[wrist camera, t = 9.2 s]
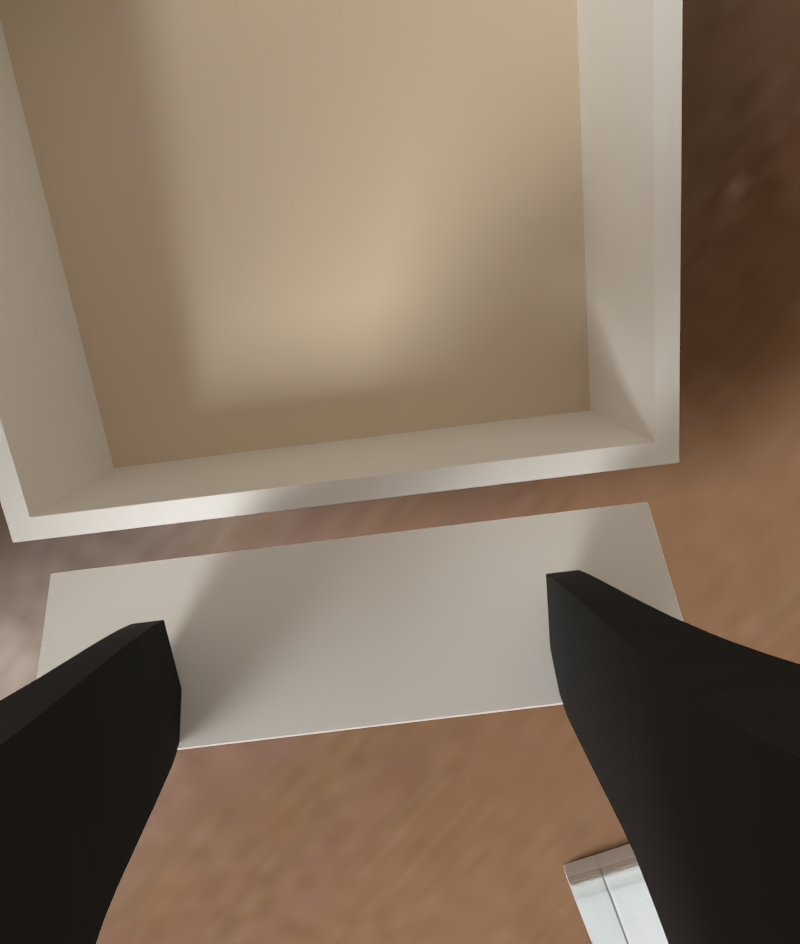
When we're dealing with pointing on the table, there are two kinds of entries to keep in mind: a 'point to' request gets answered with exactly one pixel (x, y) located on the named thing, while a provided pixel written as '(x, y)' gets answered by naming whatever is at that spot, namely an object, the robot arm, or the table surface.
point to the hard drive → (614, 898)
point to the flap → (361, 621)
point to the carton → (331, 251)
